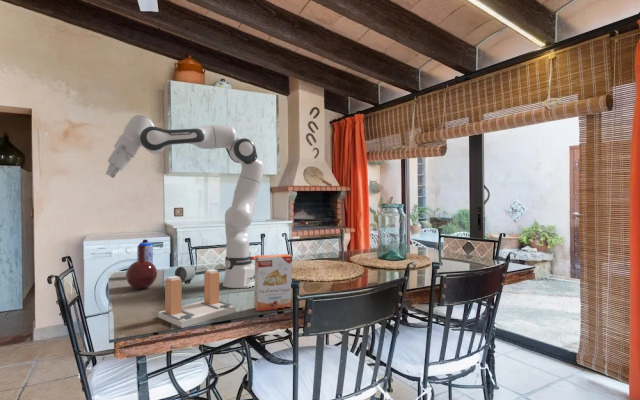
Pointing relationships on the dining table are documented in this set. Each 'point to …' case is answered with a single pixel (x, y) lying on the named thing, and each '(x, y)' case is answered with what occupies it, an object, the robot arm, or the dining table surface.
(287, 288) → the cracker box
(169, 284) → the orange rectangular block
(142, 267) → the round-bottom flask
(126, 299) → the dining table surface
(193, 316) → the white base plate
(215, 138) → the robot arm
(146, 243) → the aerosol can
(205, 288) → the tan tall bar
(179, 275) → the ceramic mug
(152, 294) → the dining table surface
